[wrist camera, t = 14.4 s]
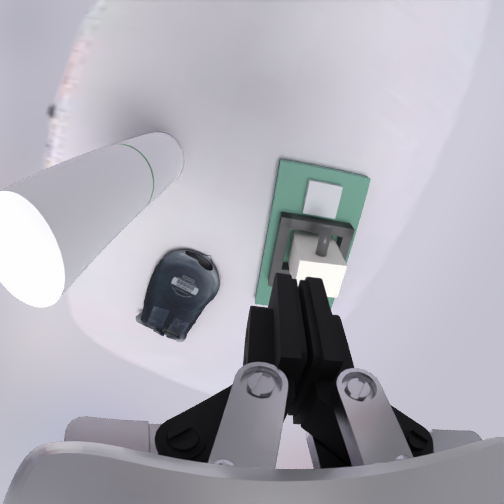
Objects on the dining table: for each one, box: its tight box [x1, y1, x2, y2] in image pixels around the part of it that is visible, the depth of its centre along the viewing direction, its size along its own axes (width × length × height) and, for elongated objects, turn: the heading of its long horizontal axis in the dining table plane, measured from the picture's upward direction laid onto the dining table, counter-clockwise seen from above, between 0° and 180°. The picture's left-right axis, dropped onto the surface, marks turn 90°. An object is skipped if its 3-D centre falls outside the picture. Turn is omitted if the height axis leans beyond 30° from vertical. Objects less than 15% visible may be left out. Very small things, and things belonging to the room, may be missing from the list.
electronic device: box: [136, 250, 220, 342], centre depth 42 cm, size 9×6×15 cm
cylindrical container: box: [0, 132, 184, 307], centre depth 24 cm, size 7×7×25 cm
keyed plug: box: [288, 226, 347, 298], centre depth 34 cm, size 8×5×8 cm, turn 173°
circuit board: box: [255, 159, 370, 309], centre depth 37 cm, size 20×11×4 cm, turn 172°
